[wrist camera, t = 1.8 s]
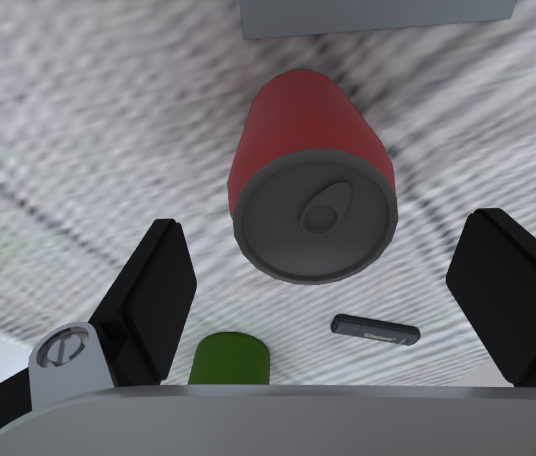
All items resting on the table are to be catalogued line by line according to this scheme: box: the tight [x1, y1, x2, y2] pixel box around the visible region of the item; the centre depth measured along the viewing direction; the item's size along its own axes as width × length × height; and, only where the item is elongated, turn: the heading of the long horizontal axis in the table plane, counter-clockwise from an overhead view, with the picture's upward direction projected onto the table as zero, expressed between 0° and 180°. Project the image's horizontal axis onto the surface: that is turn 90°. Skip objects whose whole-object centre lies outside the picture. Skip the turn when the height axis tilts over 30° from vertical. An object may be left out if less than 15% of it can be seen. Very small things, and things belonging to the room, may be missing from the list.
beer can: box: [227, 71, 398, 285], centre depth 15 cm, size 7×7×12 cm
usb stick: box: [331, 314, 421, 346], centre depth 32 cm, size 10×3×2 cm, turn 78°
